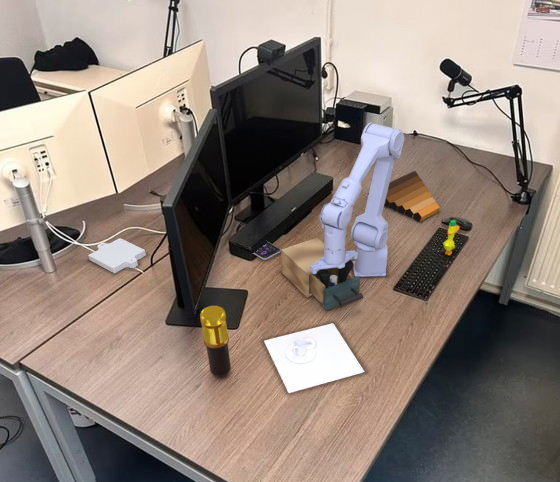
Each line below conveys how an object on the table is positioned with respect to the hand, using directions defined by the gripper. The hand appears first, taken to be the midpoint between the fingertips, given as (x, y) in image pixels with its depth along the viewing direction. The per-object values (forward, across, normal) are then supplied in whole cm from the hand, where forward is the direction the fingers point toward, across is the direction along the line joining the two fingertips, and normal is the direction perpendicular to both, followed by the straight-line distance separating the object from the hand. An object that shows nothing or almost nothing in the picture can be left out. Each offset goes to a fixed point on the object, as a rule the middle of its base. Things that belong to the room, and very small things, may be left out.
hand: (333, 285), depth 158 cm
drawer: (+3, 0, 0) cm, 4 cm away
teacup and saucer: (+5, -18, -17) cm, 25 cm away
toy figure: (+5, +44, 0) cm, 44 cm away
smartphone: (+4, -6, +36) cm, 36 cm away
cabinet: (+4, 0, +12) cm, 12 cm away
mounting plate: (+5, -48, +55) cm, 73 cm away
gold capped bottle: (+5, -44, -13) cm, 46 cm away
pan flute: (+5, +59, +34) cm, 68 cm away
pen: (+2, 0, 0) cm, 2 cm away
